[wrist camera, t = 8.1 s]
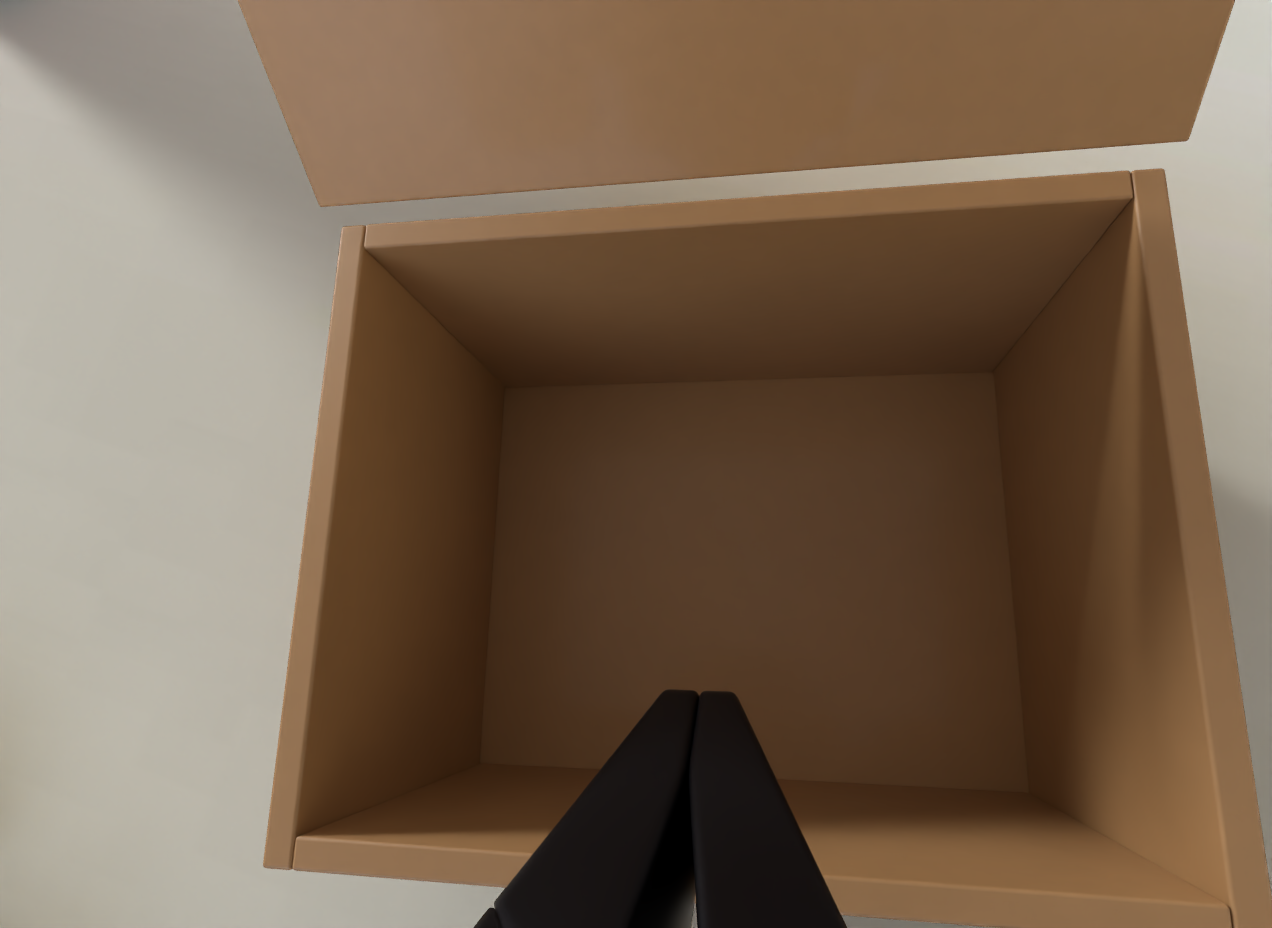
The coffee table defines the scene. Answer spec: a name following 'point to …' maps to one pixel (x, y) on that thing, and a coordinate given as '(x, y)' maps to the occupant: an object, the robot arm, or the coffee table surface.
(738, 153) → the carton flap
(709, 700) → the robot arm
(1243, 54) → the coffee table surface
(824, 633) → the carton
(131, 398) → the coffee table surface
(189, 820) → the coffee table surface
